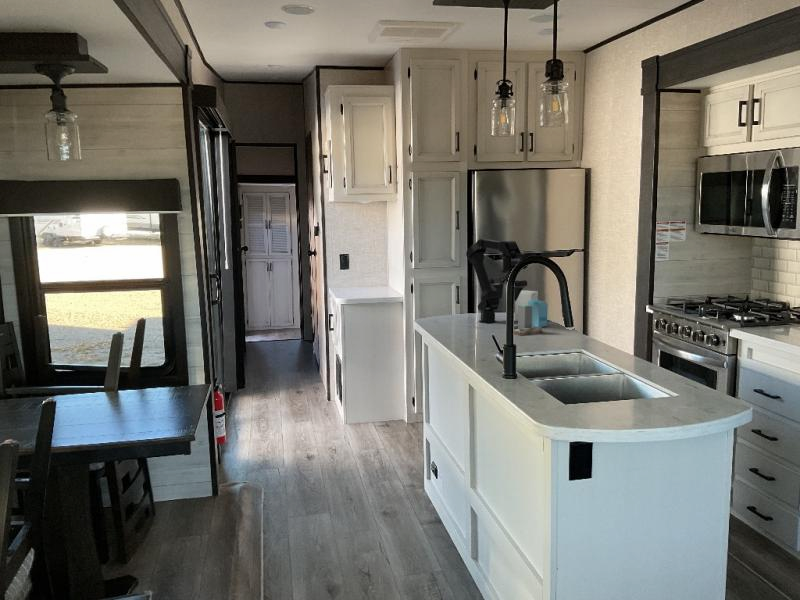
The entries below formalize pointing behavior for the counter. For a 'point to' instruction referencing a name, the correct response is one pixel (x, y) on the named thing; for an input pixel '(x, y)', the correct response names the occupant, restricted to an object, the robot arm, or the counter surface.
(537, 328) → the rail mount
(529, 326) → the module
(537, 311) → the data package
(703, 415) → the counter surface
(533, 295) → the supplement box
